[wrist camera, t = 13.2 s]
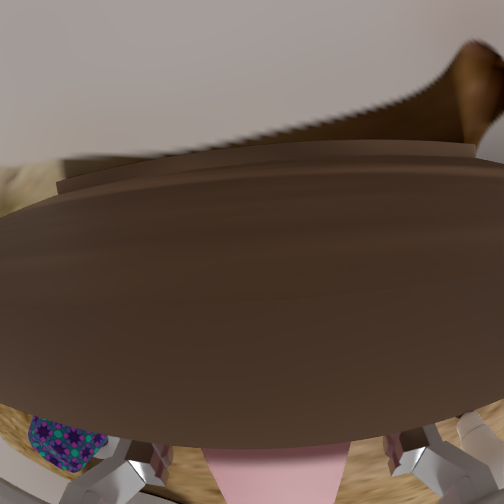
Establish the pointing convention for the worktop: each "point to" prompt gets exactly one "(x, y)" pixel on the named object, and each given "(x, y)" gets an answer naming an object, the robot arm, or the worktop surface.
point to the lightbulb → (482, 444)
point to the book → (279, 474)
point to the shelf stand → (259, 295)
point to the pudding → (68, 444)
